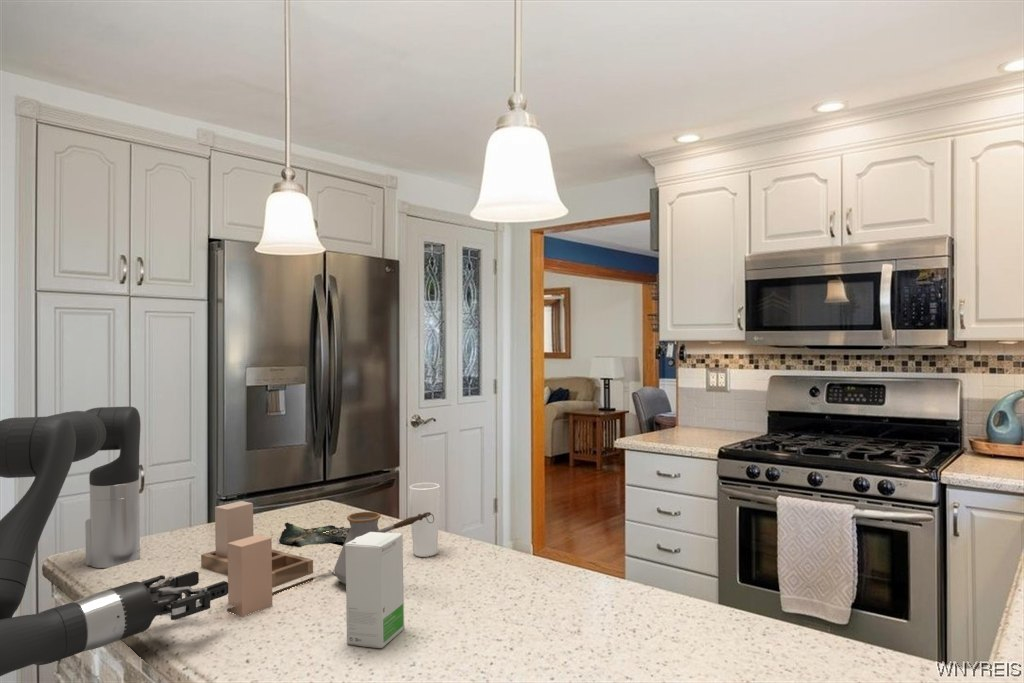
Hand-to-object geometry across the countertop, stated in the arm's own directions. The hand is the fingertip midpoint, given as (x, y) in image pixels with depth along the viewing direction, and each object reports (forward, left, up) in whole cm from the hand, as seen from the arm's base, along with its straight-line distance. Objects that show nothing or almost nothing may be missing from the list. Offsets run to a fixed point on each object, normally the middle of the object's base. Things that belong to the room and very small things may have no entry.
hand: (211, 582), depth 113 cm
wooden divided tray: (-2, +22, -7) cm, 23 cm away
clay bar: (+4, +6, -7) cm, 10 cm away
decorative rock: (+2, +46, -7) cm, 46 cm away
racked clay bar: (-8, +25, -5) cm, 27 cm away
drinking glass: (+29, +37, -7) cm, 47 cm away
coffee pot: (+25, +18, -7) cm, 31 cm away
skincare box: (+29, -4, -7) cm, 30 cm away
